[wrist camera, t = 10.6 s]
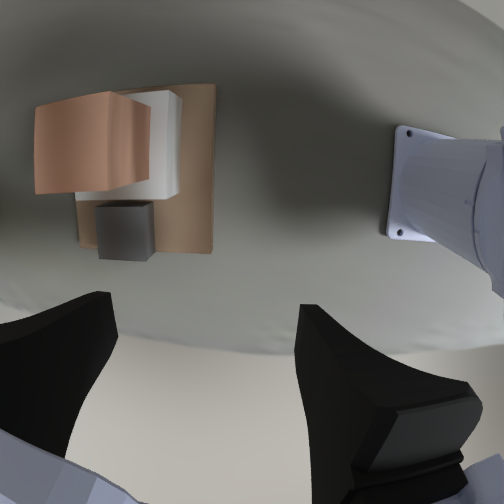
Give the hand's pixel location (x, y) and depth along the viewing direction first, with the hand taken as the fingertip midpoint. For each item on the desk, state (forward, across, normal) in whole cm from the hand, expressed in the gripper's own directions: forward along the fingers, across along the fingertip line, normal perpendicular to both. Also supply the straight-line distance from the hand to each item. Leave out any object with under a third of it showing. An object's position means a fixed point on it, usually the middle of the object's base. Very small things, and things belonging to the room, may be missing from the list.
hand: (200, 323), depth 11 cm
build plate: (+10, +6, -5) cm, 13 cm away
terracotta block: (+6, +6, -7) cm, 11 cm away
